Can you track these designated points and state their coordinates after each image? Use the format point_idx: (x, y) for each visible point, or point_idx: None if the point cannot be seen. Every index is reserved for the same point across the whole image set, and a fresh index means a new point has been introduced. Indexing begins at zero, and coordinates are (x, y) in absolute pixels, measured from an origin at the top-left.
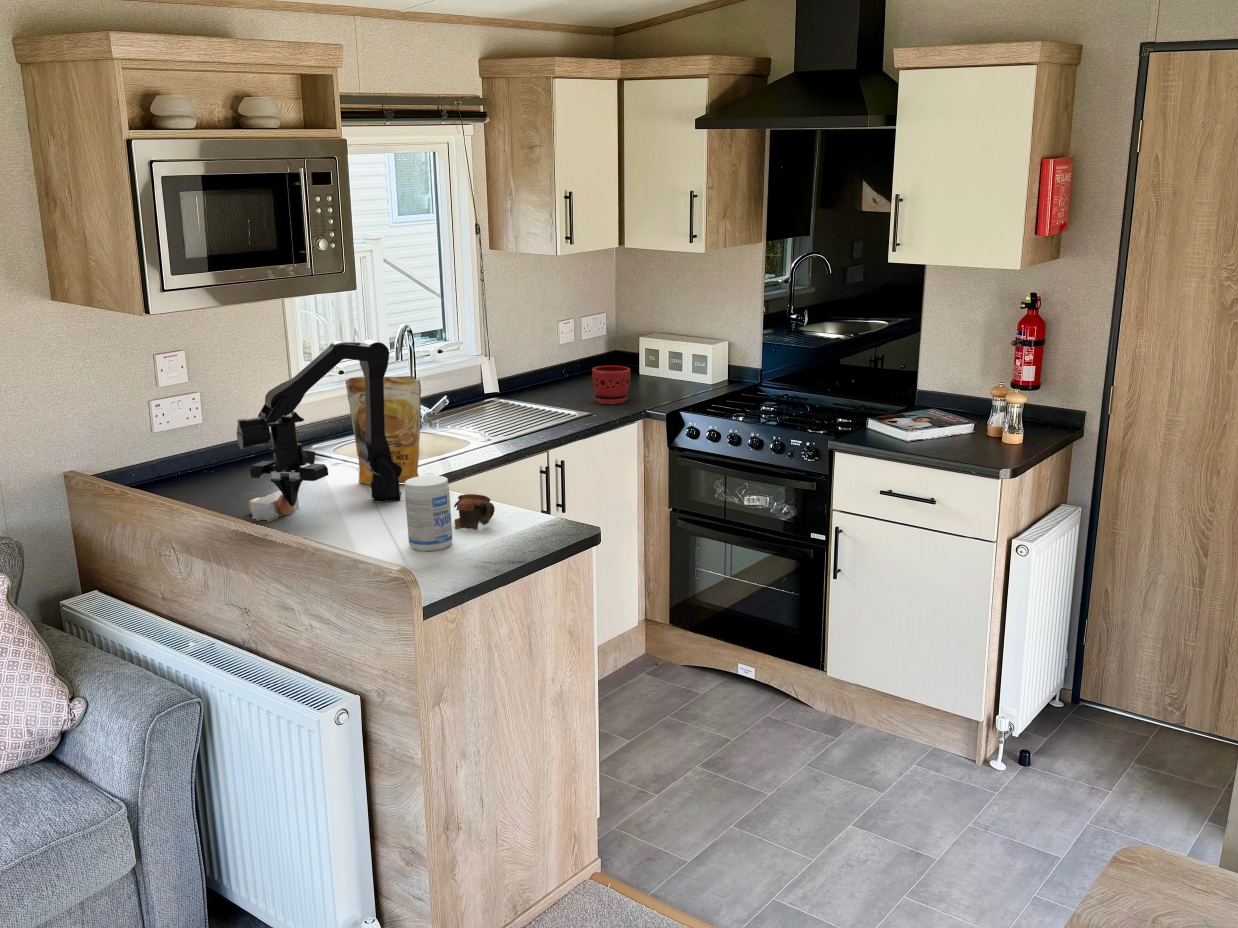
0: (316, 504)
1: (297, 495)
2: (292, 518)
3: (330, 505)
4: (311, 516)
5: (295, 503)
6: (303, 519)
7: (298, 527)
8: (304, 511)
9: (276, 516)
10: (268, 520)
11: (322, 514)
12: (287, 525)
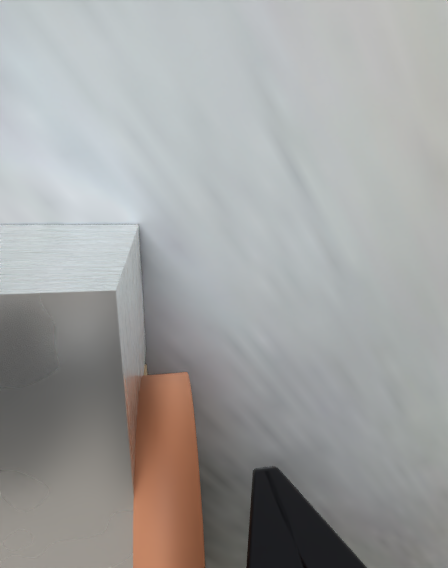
0: (234, 18)
1: (126, 271)
2: (265, 450)
3: (411, 25)
4: (377, 373)
5: (137, 295)
6: (353, 438)
7: (392, 538)
8: (253, 288)
9: None
10: None
11: (439, 310)
12: None
